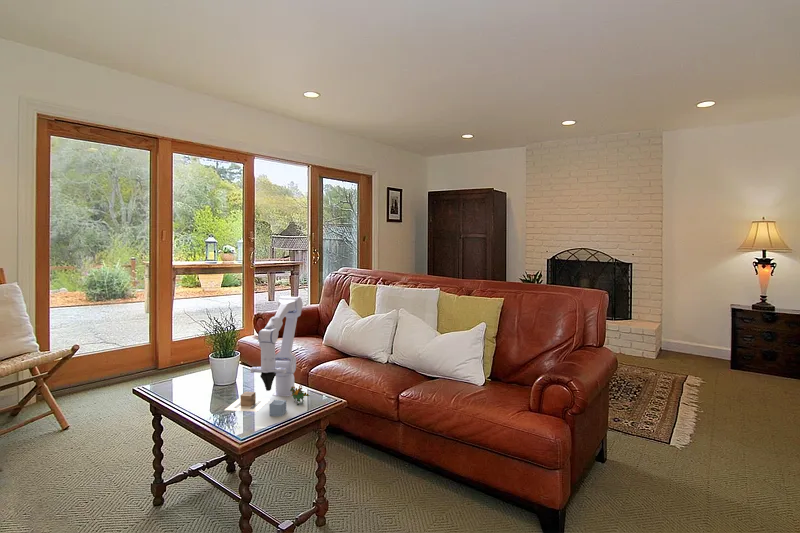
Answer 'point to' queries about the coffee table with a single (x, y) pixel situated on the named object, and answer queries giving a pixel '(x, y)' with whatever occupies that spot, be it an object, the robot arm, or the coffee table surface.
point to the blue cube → (277, 408)
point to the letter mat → (255, 407)
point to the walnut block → (248, 398)
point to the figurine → (298, 394)
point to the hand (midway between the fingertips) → (268, 389)
